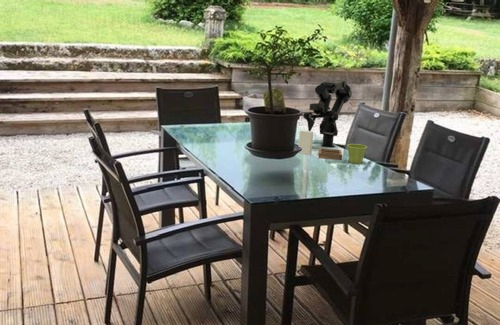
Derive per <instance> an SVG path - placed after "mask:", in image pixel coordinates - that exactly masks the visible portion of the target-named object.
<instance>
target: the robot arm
mask: <svg viewBox="0 0 500 325" xmlns="http://www.w3.org/2000/svg"><path fill="white" fill-rule="evenodd" d="M314 92H315V94H316V95H317V98H318V99H319V100H318V102H317V103H315V102H314V103H309V109H308V110H309V111H307V112H304V113H303V116H302V117H303V118H304V119H305V120H306V121H307V122H306V123H307V129H308V130H307V131H312V128H314V125H315V123H316V122H315V121H316V119H320V118H322V120H321V123H320V124H319V135H322V142H321V143H320V145H321V147H326V148H334V147H335V145H334V138H335V137H338V133H339V131H338V127H337V121H338V120H339V118H340V116H339V115H340V113H341V111H342V109H343V106H344V104H346V103H347V102H349V100H350V99H351V97H352V94H353V92H352V88H351V87H350V86H349V85H348V84H347V81H346V80H336V81H333V82H330V81H323V82H320V84H318V85H317V86H316V87H315V88H314ZM332 94H334V95H335V98H336V99H335V100H334V103H333V105H332V107H330V105H331V101H332ZM311 111H313V113H312V112H311Z"/></svg>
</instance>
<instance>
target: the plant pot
mask: <svg viewBox="0 0 500 325" xmlns="http://www.w3.org/2000/svg"><path fill="white" fill-rule="evenodd" d="M346 146H347V149H348V163H350V164H356V165H357V164H358V165H359V164H363V160H364V156H365V153H366V151H367V148H368V146H367V145H364V144H358V143H350V144H349V143H348V144H346Z"/></svg>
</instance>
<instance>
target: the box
mask: <svg viewBox="0 0 500 325" xmlns="http://www.w3.org/2000/svg"><path fill="white" fill-rule="evenodd" d="M317 154H318V159H324V160H337V161H342V160H343V153H342V149H335V148H333V149H332V148H322V147H320V148H318V153H317Z"/></svg>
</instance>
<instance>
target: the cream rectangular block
mask: <svg viewBox="0 0 500 325" xmlns="http://www.w3.org/2000/svg"><path fill="white" fill-rule="evenodd" d="M313 139H314V131H312V130H311V131H308V130H305V129H300V130H299V136H298V147H301V148H302V151H301V152H300V153H299V154H303V155H312V151H313V141H314V140H313Z"/></svg>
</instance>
